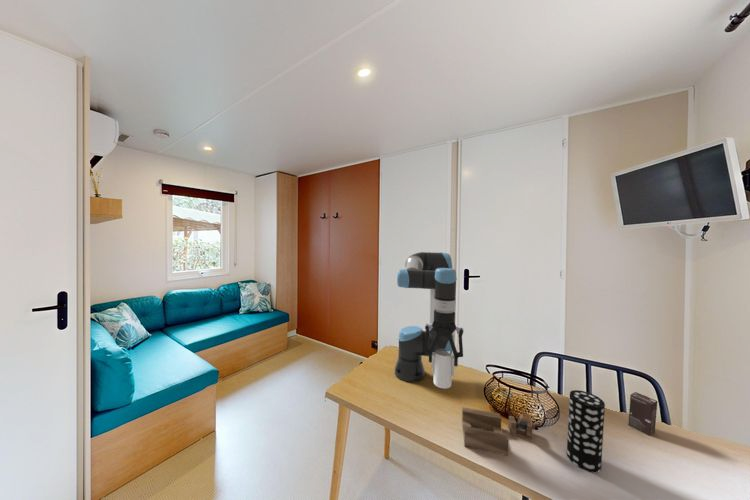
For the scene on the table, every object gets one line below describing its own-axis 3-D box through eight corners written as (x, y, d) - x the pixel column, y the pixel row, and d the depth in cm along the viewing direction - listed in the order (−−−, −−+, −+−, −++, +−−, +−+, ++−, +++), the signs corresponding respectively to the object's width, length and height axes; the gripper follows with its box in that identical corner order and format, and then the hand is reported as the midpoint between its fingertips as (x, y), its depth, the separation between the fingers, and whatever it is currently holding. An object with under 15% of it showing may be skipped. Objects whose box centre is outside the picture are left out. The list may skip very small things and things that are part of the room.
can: (451, 390, 90) (452, 357, 89) (433, 387, 91) (434, 355, 91) (450, 381, 96) (451, 349, 95) (433, 378, 97) (434, 347, 97)
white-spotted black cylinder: (591, 476, 74) (595, 410, 73) (560, 454, 81) (563, 393, 80) (607, 466, 77) (610, 403, 76) (576, 446, 85) (579, 387, 84)
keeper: (516, 428, 90) (515, 423, 92) (524, 430, 90) (523, 424, 91) (522, 418, 83) (521, 412, 85) (531, 420, 83) (530, 413, 84)
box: (627, 425, 95) (629, 394, 94) (633, 421, 97) (635, 391, 96) (650, 436, 89) (652, 403, 89) (655, 433, 91) (658, 400, 91)
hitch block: (461, 417, 97) (462, 405, 97) (528, 430, 91) (529, 417, 91) (464, 446, 84) (465, 431, 83) (543, 463, 78) (543, 448, 77)
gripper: (416, 310, 92) (414, 372, 93) (473, 316, 86) (471, 382, 87) (419, 305, 99) (417, 363, 100) (472, 310, 93) (470, 372, 94)
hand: (442, 372), depth 93 cm, fingers closed on can, 6 cm apart
